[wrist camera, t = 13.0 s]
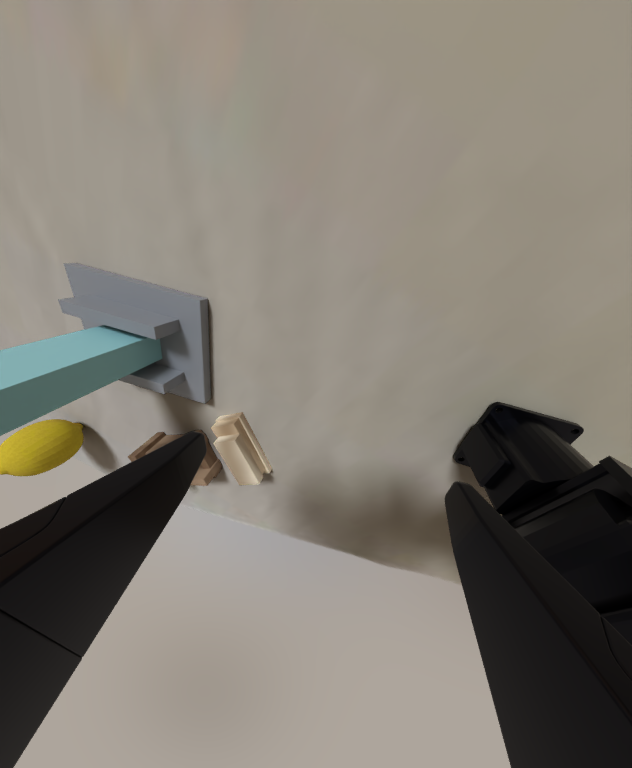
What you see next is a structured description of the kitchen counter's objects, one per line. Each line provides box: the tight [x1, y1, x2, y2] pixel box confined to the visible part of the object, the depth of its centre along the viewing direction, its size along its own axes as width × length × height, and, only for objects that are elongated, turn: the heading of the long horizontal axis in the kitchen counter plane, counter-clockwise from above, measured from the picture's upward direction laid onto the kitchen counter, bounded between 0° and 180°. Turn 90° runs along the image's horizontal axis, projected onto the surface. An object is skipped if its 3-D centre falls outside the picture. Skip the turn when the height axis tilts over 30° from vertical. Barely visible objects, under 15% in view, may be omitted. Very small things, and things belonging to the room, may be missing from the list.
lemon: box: [0, 419, 84, 476], centre depth 27 cm, size 6×6×8 cm
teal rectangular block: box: [0, 325, 162, 436], centre depth 16 cm, size 4×2×12 cm, turn 77°
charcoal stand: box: [58, 263, 211, 404], centre depth 20 cm, size 12×10×4 cm
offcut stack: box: [211, 412, 272, 485], centre depth 25 cm, size 3×8×3 cm, turn 18°
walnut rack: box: [128, 430, 222, 486], centre depth 27 cm, size 7×6×4 cm
